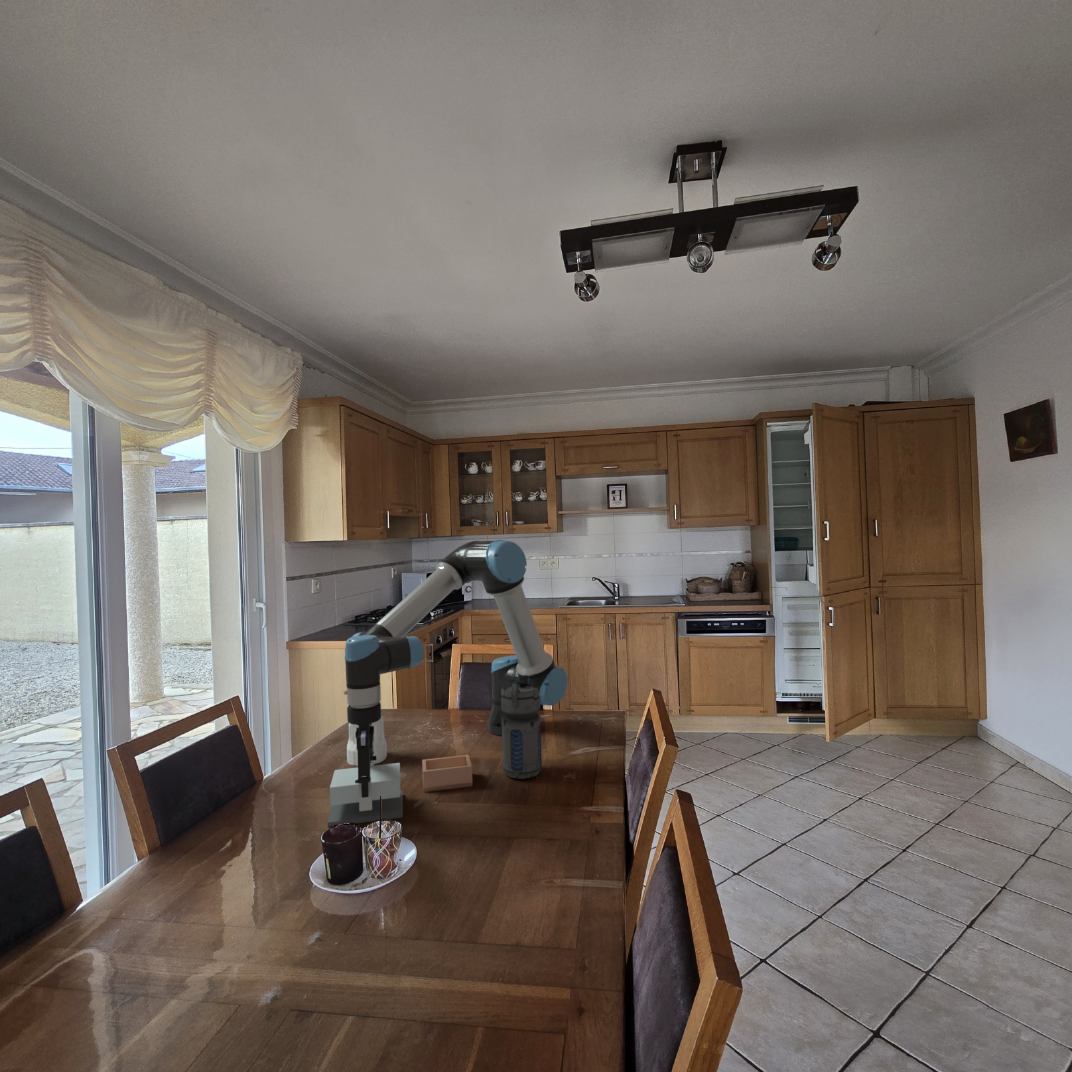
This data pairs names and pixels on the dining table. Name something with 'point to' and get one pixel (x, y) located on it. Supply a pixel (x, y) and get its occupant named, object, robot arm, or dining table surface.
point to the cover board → (382, 783)
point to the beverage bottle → (521, 730)
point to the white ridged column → (378, 743)
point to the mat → (352, 814)
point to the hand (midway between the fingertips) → (367, 799)
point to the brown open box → (447, 773)
